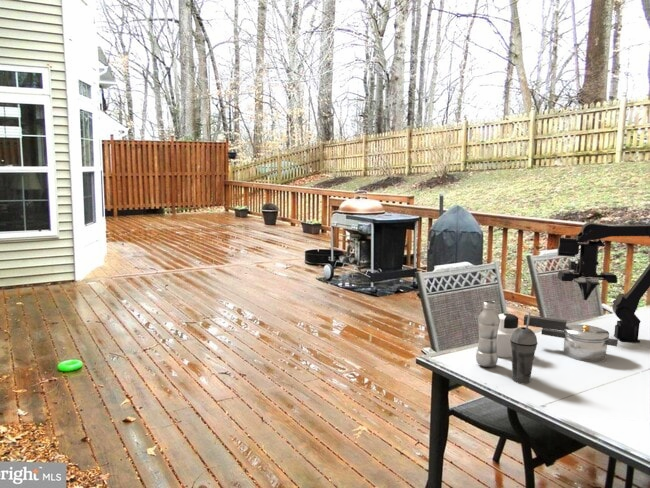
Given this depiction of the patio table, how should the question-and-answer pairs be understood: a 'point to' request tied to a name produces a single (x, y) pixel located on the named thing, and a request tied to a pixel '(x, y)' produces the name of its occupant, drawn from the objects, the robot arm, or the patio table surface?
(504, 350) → the container
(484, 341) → the plastic bottle
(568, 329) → the cooker lid
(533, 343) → the beverage cup
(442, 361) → the patio table surface
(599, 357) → the cooker pot
